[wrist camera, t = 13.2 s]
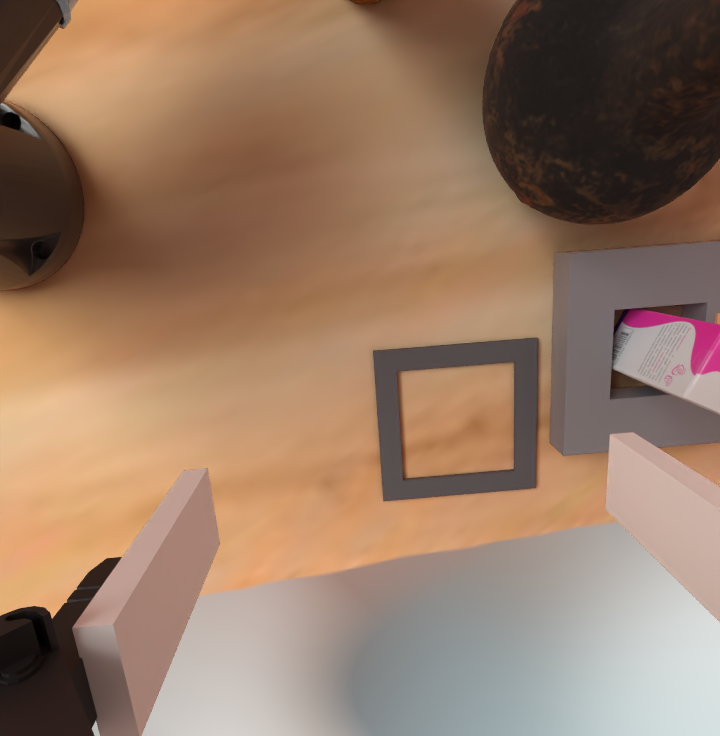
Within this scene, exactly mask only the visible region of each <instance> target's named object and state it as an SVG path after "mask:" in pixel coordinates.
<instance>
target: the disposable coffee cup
mask: <svg viewBox="0 0 720 736" xmlns="http://www.w3.org/2000/svg"><path fill="white" fill-rule="evenodd" d="M351 1H353V2H356V3H361V4H373V3H376V2H380V1H382V0H351Z"/></svg>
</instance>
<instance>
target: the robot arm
mask: <svg viewBox="0 0 720 736" xmlns="http://www.w3.org/2000/svg"><path fill="white" fill-rule="evenodd" d="M77 2H78V0H0V291H2V290H10V289H18V288H24V287H28V286H31V285H34V284H37V283H39V282H41V281H43V280H45V279H47V278H48V277H50V276H51V275H53V274H54V273H55V272H56V271H58V270H59V269H60V268H61V267H62V266H63V265H64V264H65V262H66V261H67V260H68V259H69V257H70V256H71V254H72V253H73V251H74V249H75V247H76V245H77V243H78V240H79V237H80V234H81V230H82V226H83V218H84V201H83V193H82V188H81V184H80V180H79V177H78V174H77V171H76V169H75V166H74V164H73V162H72V160H71V158H70V156H69V155H68V153H67V151H66V150H65V148H64V147H63V145H62V144H61V142H60V141H59V140H58V139H57V137H56V136H55V135H54V134H53V133H52V132H51V131H50V130H49V129H48V128H47V127H46V126H45V125H44V124H43V123H42V122H41V121H40V120H38V119H37V118H36V117H35V116H33V115H32V114H30V113H29V112H27V111H26V110H24V109H22V108H20V107H19V106H17V105H15V104H12V103H10V102H8V101H6V100H4V99H5V98H6V97H7V95H8V94H9V93H10V91H11V90H12V89H13V87H14V86H15V85H16V83H17V82H18V81H19V79H20V78H21V77H22V75H23V74H24V73H25V71H26V70H27V69H28V68H29V66H30V65H31V64H32V62H33V61H34V60H35V58H36V57H37V56H38V54H39V53H40V52H41V50H42V49H43V48H44V46H45V45H46V44H47V42H48V41H49V40H50V38H51V37H52V36H53V35H54V33H55V32H56V31H57V29H58V28H59V27H60V28H62V29H64V28H65V27H66V26H67V25H68V24H69V22H70V20H71V10H72V9H73V7H74V6H75V4H76V3H77ZM606 510H607V511H608V512H609V513H610V514H611V515H612V516H613V517H614V518H615V519H616V520H617V521H618V522H619V523H620V524H621V525H622V526H623V527H624V528H625V529H626V530H627V531H628V532H629V533H630V534H631V535H632V536H633V537H634V538H635V539H636V540H637V541H638V542H639V543H640V544H641V545H642V546H643V547H644V548H645V549H646V550H647V551H648V552H649V553H650V554H651V555H652V556H653V557H654V558H655V559H656V560H657V561H658V562H659V563H660V564H661V565H662V566H663V567H664V568H666V570H667V571H669V573H670V574H671V575H672V576H673V577H674V578H676V579H677V580H678V581H679V582H680V583H681V584H682V585H683V586H684V587H685V588H686V589H687V590H688V591H689V592H690V593H691V594H692V595H693V596H694V597H695V598H696V599H697V600H698V601H699V602H700V603H701V604H702V605H703V606H704V607H705V608H706V609H707V610H708V611H709V612H710V613H711V614H712V615H713V616H714V617H715V618H716V619H717V620H718V621H719V622H720V487H719V486H718V485H716V484H715V483H713V482H711V481H710V480H708V479H707V478H705V477H703V476H702V475H700V474H699V473H697V472H695V471H694V470H692V469H691V468H689V467H688V466H686V465H684V464H683V463H681V462H680V461H678V460H676V459H675V458H673V457H672V456H670V455H668V454H667V453H665V452H664V451H662V450H660V449H659V448H657V447H656V446H654V445H653V444H651V443H649V442H648V441H646V440H645V439H643V438H641V437H640V436H638V435H637V434H635V433H633V432H629V433H617V434H610V441H609V459H608V477H607V495H606ZM219 545H220V540H219V534H218V528H217V522H216V516H215V510H214V504H213V498H212V492H211V486H210V480H209V474H208V468H205V469H193V470H184V471H183V472H182V473H181V475H180V476H179V478H178V479H177V481H176V482H175V483H174V485H173V486H172V488H171V489H170V490H169V492H168V493H167V495H166V496H165V497H164V499H163V500H162V502H161V503H160V505H159V506H158V507H157V509H156V510H155V512H154V513H153V514H152V516H151V517H150V519H149V520H148V521H147V523H146V524H145V526H144V527H143V529H142V530H141V531H140V533H139V534H138V536H137V537H136V538H135V540H134V541H133V543H132V544H131V545H130V547H129V548H128V550H127V551H126V553H125V554H124V555H123V557H117V558H107V559H106V560H104V561H103V562H102V563H100V564H99V565H98V566H96V567H95V568H94V569H92V570H91V571H90V572H89V573H88V574H87V575H86V576H85V578H84V579H83V580H82V581H81V583H80V584H79V585H78V587H77V590H74V592H73V593H72V594H71V596H70V597H69V598H68V599H67V603H64V605H63V606H62V607H61V608H60V610H59V611H58V612H57V614H56V615H55V616H54V617H53V619H52V618H51V615H50V612H49V611H48V610H46V609H45V608H43V607H36V606H32V607H26V608H20V609H17V610H14V611H11V612H9V613H6V614H3V615H1V616H0V736H94V733H93V731H92V726H93V725H94V723H95V721H97V725H98V729H99V733H100V736H141V735H142V733H143V730H144V728H145V725H146V723H147V721H148V718H149V716H150V713H151V711H152V708H153V706H154V703H155V701H156V699H157V696H158V694H159V691H160V689H161V686H162V684H163V681H164V679H165V677H166V674H167V671H168V669H169V667H170V664H171V662H172V659H173V657H174V655H175V652H176V650H177V647H178V645H179V642H180V640H181V637H182V635H183V632H184V630H185V628H186V625H187V623H188V620H189V618H190V616H191V613H192V611H193V608H194V606H195V603H196V601H197V599H198V596H199V594H200V591H201V589H202V586H203V584H204V581H205V579H206V577H207V574H208V572H209V569H210V567H211V564H212V562H213V559H214V557H215V555H216V552H217V550H218V547H219Z"/></svg>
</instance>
